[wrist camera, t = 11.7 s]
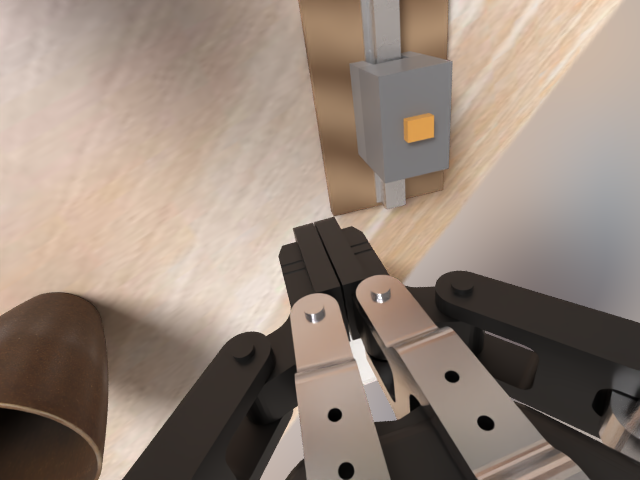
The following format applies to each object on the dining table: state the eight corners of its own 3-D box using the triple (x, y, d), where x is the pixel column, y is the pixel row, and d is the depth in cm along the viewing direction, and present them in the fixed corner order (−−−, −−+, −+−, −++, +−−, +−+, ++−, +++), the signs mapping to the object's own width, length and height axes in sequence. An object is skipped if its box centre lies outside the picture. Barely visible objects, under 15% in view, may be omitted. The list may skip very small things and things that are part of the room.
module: (349, 63, 32) (382, 78, 25) (410, 51, 32) (458, 62, 26) (358, 154, 36) (388, 187, 29) (411, 142, 37) (453, 172, 30)
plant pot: (-5, 236, 34) (-151, 383, 21) (161, 288, 41) (130, 426, 27) (-39, 348, 39) (-175, 523, 26) (113, 379, 46) (67, 532, 32)
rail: (350, -125, 26) (358, -134, 24) (389, -131, 26) (400, -140, 24) (376, 201, 39) (382, 210, 38) (401, 195, 40) (409, 203, 38)
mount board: (279, -119, 26) (281, -124, 25) (444, -145, 27) (452, -151, 26) (331, 211, 40) (333, 216, 39) (437, 185, 41) (442, 189, 40)
